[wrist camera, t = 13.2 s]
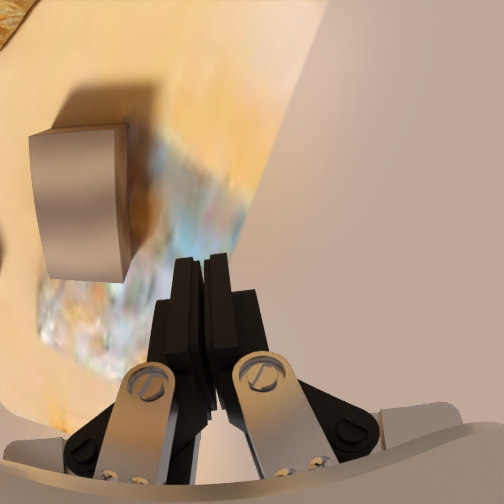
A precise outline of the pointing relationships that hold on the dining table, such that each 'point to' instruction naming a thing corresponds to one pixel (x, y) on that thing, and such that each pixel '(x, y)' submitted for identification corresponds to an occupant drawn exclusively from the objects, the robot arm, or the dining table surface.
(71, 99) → the dining table surface
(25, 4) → the croissant
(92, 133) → the slab
